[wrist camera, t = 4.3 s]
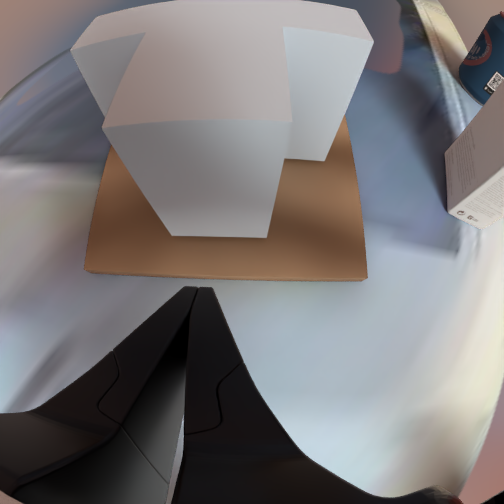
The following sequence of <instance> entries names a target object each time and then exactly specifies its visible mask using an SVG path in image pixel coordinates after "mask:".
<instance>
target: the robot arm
mask: <svg viewBox="0 0 504 504" xmlns="http://www.w3.org/2000/svg"><path fill="white" fill-rule="evenodd" d="M183 414H184V446H183V457H182V462H181V466H180V470H179V474H178V478H177V482H176V486H175V490H174V494H173V498H172V502H171V504H463V503H462V501H461V500H460V499H459V498H458V497H456V496H455V495H454V494H452V493H451V492H449V491H447V490H446V489H444V488H443V487H441V486H438V485H436V486H431V487H428V488H425V489H422V490H419V491H416V492H413V493H410V494H407V495H404V496H400V497H394V498H388V497H380V496H375V495H372V494H370V493H367V492H365V491H363V490H361V489H359V488H358V487H356V486H354V485H352V484H351V483H349V482H347V481H345V480H344V479H342V478H340V477H339V476H337V475H335V474H334V473H332V472H330V471H329V470H327V469H326V468H324V467H322V466H321V465H319V464H318V463H316V462H315V461H313V460H312V459H310V458H309V457H308V456H306V455H305V454H304V453H303V452H302V451H301V450H300V449H299V447H298V446H297V445H296V444H295V443H294V441H293V440H292V439H291V438H290V436H289V435H288V433H287V432H286V431H285V429H284V428H283V427H282V425H281V424H280V422H279V421H278V420H277V418H276V417H275V415H274V414H273V412H272V411H271V410H270V408H269V407H268V405H267V404H266V402H265V401H264V399H263V398H262V396H261V394H260V393H259V391H258V389H257V388H256V386H255V384H254V382H253V380H252V378H251V376H250V374H249V372H248V370H247V367H246V365H245V363H244V361H243V359H242V356H241V354H240V352H239V349H238V347H237V345H236V343H235V340H234V338H233V336H232V333H231V331H230V328H229V326H228V324H227V321H226V319H225V316H224V314H223V312H222V309H221V307H220V304H219V302H218V299H217V297H216V294H215V292H214V289H213V288H212V287H199V289H198V287H192V286H185V287H183V288H182V289H181V290H180V291H179V292H177V293H176V294H175V295H174V296H173V297H172V298H171V299H169V300H168V301H167V302H166V303H165V304H164V305H163V306H161V307H160V308H159V309H158V310H157V311H156V312H155V313H153V314H152V315H151V316H150V317H149V318H148V319H147V320H146V321H144V322H143V323H142V324H141V325H140V326H139V327H138V328H136V329H135V330H134V331H133V332H132V333H131V334H130V335H129V336H127V337H126V338H125V339H124V340H123V341H122V342H121V343H120V344H119V345H117V346H116V347H115V348H114V349H113V351H111V352H109V353H108V354H107V355H106V356H105V357H104V358H103V359H102V360H100V361H99V362H98V363H97V364H96V365H95V366H93V367H92V368H91V369H90V370H89V371H87V372H86V373H85V374H83V375H82V376H81V377H79V378H78V379H77V380H76V381H74V382H73V383H71V384H70V385H69V386H67V387H66V388H65V389H63V390H62V391H60V392H59V393H58V394H56V395H55V396H54V397H52V398H51V399H49V400H48V401H47V402H45V403H44V404H42V405H41V406H39V407H37V408H35V409H33V410H30V411H26V412H19V413H0V504H165V503H166V498H167V493H168V488H169V485H168V484H169V482H170V477H171V472H172V467H173V462H174V457H175V452H176V447H177V442H178V438H179V433H180V428H181V424H182V419H183ZM481 504H504V490H503V491H501V492H499V493H498V494H496V495H494V496H493V497H491V498H489V499H488V500H486V501H484V502H483V503H481Z"/></svg>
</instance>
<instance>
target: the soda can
mask: <svg viewBox="0 0 504 504" xmlns="http://www.w3.org/2000/svg"><path fill="white" fill-rule="evenodd" d="M503 79H504V12H502V11H501V12H500V14H498V15H495V16H492V17H491V18H490V19H489V21H488V23H487V24H486V26H485V28H484V29H483V31H482V32H481V34H480V36H479V37H478V39H477V41H476V42H475V44H474V45H473V47H472V48H471V50H470V52H469V53H468V54H467V56H466V58H465V59H464V61H463V62H462V64H461V65H460V67H459V80H460V83H461V85H462V86H463V88H464V89H465V90H466V92H467V93H468V94H469V95H470V96H471V97H472V98H473V99H474V100H475V101H476V102H477V103H479V104H480V105H481V106H484V105H485V103H486V102H487V101H488V99H489V98H490V97H491V95H492V94H493V93H494V91H495V90H496V89H497V87H498V86H499V85H500V83H501V82H502V81H503Z"/></svg>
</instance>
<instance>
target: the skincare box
mask: <svg viewBox="0 0 504 504" xmlns="http://www.w3.org/2000/svg"><path fill="white" fill-rule="evenodd" d="M444 155H445V165H446V180H447V211H448V213H449V214H451V215H453V216H454V217H456V218H458V219H460V220H462V221H464V222H466V223H468V224H470V225H472V226H474V227H476V228H478V229H480V230H481V229H485V228H486V227H488V226H489V225H491V224H493V223H494V222H496V221H497V220H499V219H501V218H502V217H504V79H503V81H502V82H501V83H500V85H499V86H498V87H497V89H496V90H495V91H494V93H493V94H492V95H491V97H490V98H489V99H488V101H487V102H486V103H485V105H484V106H483V107H482V108H481V110H480V111H479V112H478V113H477V115H476V116H475V117H474V118H473V120H472V121H471V122H470V123H469V125H468V126H467V127H466V128H465V129H464V131H463V132H462V133H461V134H460V136H459V137H458V138H457V139H456V140H455V141H454V143H453V144H452V145H451V146H450V147H449V148H448V150H447V151H446V152H445V154H444Z"/></svg>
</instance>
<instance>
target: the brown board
mask: <svg viewBox="0 0 504 504" xmlns="http://www.w3.org/2000/svg"><path fill="white" fill-rule="evenodd" d="M84 270H86V271H88V272H90V273H97V274H114V275H131V276H151V277H172V278H197V279H227V280H267V281H363V280H365V279H367V278H368V276H367V261H366V249H365V238H364V229H363V220H362V211H361V203H360V196H359V189H358V182H357V176H356V170H355V164H354V158H353V153H352V147H351V142H350V137H349V132H348V127H347V122H346V118H345V114H344V117H343V119H342V121H341V124H340V126H339V129H338V131H337V133H336V136H335V138H334V140H333V143H332V145H331V147H330V150H329V152H328V154H327V156H326V159H325V161H315V160H302V159H286V158H284V162H283V167H282V171H281V176H280V180H279V185H278V189H277V194H276V198H275V203H274V207H273V212H272V216H271V221H270V225H269V229H268V234H267V238H254V237H213V236H172V235H171V234H170V232H169V231H168V229H167V228H166V227H165V225H164V224H163V222H162V221H161V219H160V218H159V216H158V215H157V213H156V212H155V211H154V209H153V208H152V206H151V205H150V203H149V202H148V200H147V199H146V197H145V196H144V194H143V193H142V191H141V190H140V188H139V187H138V185H137V184H136V182H135V181H134V179H133V177H132V176H131V174H130V173H129V171H128V170H127V168H126V167H125V165H124V164H123V162H122V160H121V159H120V157H119V156H118V154H117V152H116V151H115V149H114V148H113V146H112V144H111V147H110V151H109V154H108V157H107V161H106V164H105V168H104V171H103V175H102V179H101V183H100V187H99V191H98V195H97V199H96V204H95V208H94V213H93V218H92V223H91V228H90V233H89V239H88V245H87V251H86V257H85V264H84Z"/></svg>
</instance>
